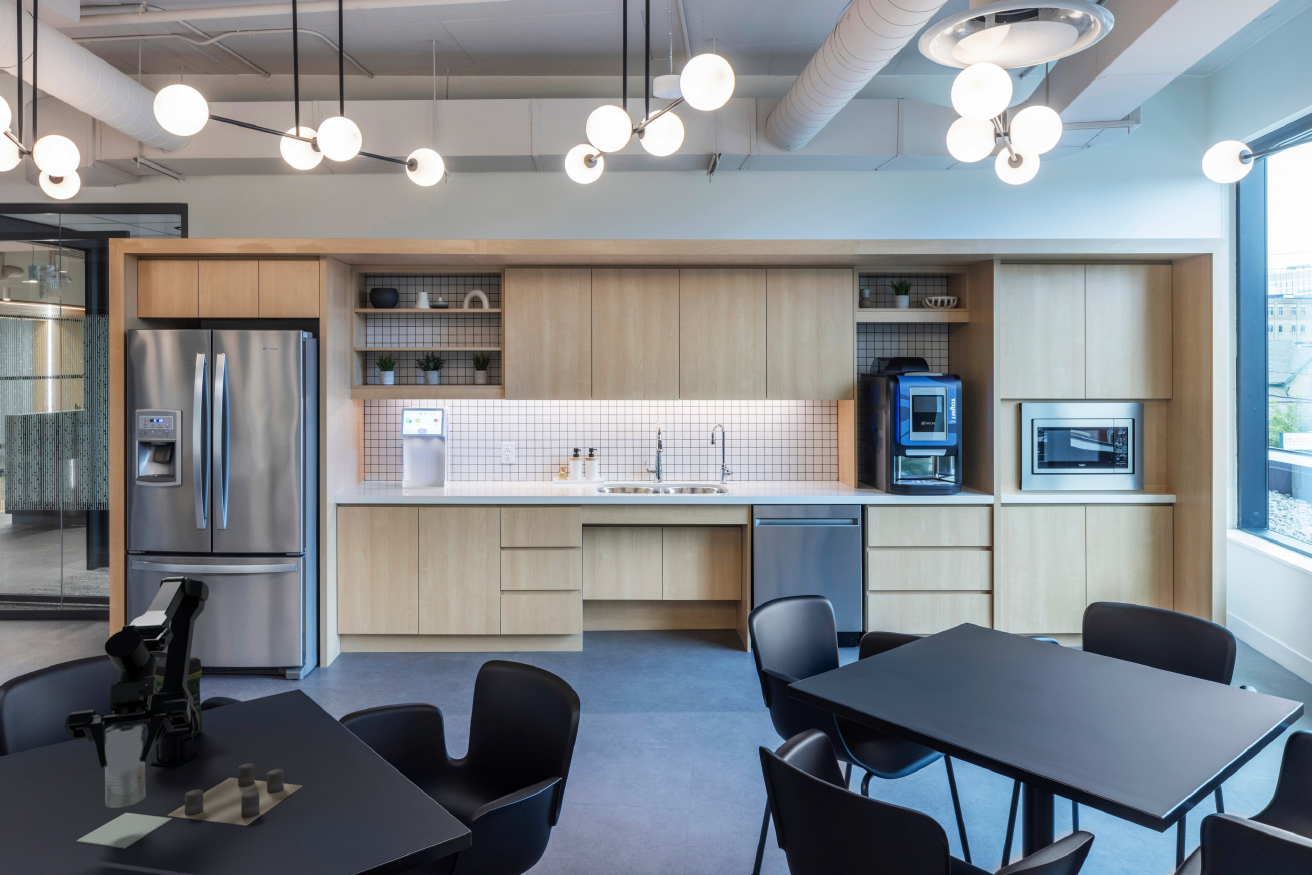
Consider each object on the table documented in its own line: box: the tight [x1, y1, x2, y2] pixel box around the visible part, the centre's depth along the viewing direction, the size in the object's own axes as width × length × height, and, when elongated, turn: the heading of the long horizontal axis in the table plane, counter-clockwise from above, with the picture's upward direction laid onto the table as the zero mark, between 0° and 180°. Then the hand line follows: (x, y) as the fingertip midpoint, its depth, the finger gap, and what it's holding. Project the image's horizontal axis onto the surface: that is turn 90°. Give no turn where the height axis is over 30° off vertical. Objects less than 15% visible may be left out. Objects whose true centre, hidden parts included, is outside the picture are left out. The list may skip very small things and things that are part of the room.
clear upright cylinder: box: [104, 721, 147, 809], centre depth 140 cm, size 6×6×13 cm
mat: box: [166, 762, 303, 826], centre depth 152 cm, size 17×16×4 cm
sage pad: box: [76, 812, 172, 849], centre depth 140 cm, size 10×10×1 cm
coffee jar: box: [155, 656, 203, 738], centre depth 185 cm, size 10×8×19 cm
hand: (123, 763), depth 139 cm, fingers closed on clear upright cylinder, 6 cm apart
